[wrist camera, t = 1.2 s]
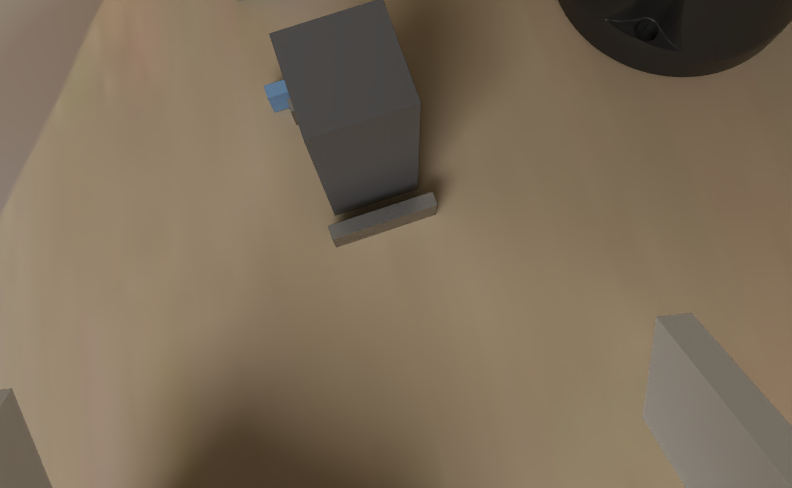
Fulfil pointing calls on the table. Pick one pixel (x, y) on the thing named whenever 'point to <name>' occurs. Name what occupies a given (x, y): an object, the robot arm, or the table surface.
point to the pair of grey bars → (380, 216)
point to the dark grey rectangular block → (353, 104)
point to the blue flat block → (277, 95)
